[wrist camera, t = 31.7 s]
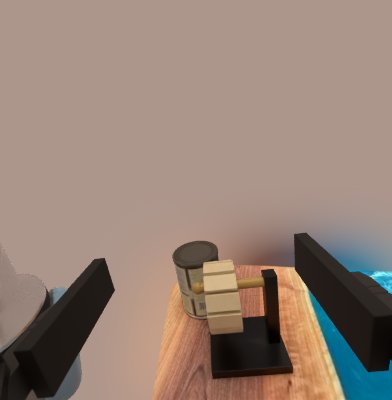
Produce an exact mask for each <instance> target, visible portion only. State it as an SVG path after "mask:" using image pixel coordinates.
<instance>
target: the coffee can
mask: <svg viewBox="0 0 392 400" xmlns="http://www.w3.org/2000/svg"><path fill="white" fill-rule="evenodd" d="M173 261H174V264H175V268H176V273H177V277H178V282H179V287H180V291H181V296H182V301H183V307H184V310H185V312H186V313H187V314H188V315H189V316H191V317H193V318H196V319H207V311H206V303H205V293H201V294H199V295H197V294H195V293H194V292H193V291H192V286H193V284H194V283H196V282H200V283H204V280H203V277H204V275H203V263H204V262H212V261H219V260H218V249H217V247H216V245H215V244H213V243H211V242H207V241H194V242H190V243H186V244H184V245H182V246H180V247H178V248H177V249H176V250H175V251H174V253H173Z"/></svg>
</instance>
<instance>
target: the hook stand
mask: <svg viewBox="0 0 392 400" xmlns="http://www.w3.org/2000/svg"><path fill="white" fill-rule="evenodd" d="M261 273H262V276H260V277H250V278H241V279H236V281H237V286H238V289H245V288H255V287H263V300H264V313H265V316H258V317H248V318H242V321H243V332H237V333H225V334H213V335H211V333H210V339H211V366H212V376H213V379H216V378H230V377H243V376H257V375H271V374H285V373H293V366H292V363H291V361H290V358H289V356H288V353H287V350H286V348H285V345H284V343H283V340H282V338H281V335H280V322H279V302H278V283H277V275H276V273H275V271H274V269H266V270H261ZM192 291H193V292H194V293H195V294H197V295H199V294H201V293H205V292H204V283H200V282H196V283H194V284H193V286H192Z"/></svg>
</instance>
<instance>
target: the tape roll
mask: <svg viewBox="0 0 392 400" xmlns="http://www.w3.org/2000/svg"><path fill="white" fill-rule="evenodd" d="M203 275H204V277H203V280H204V292H205V303H206V311H207V319H208V324H209V329H210V333H211V335H213V334H225V333H237V332H243V321H242V313H241V305H240V299H239V293H238V286H237V281H236V275H235V270H234V266H233V262H232V260H221V261H212V262H204V263H203Z"/></svg>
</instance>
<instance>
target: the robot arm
mask: <svg viewBox="0 0 392 400" xmlns="http://www.w3.org/2000/svg"><path fill="white" fill-rule="evenodd" d="M294 246H295V270H296V272H297V273H298V275H299V276H300V277H301V279H302V280H303V282H304V283H305V284H306V286H307V287H308V289H309V290H310V291H311V293H312V294H313V296H314V297H315V298H316V300H317V301H318V303H319V304H320V305H321V307H322V308H323V310H324V311H325V312H326V314H327V315H328V317H329V318H330V319H331V321H332V322H333V324H334V325H335V326H336V328H337V329H338V331H339V332H340V333H341V335H342V336H343V338H344V339H345V340H346V342H347V343H348V345H349V346H350V347H351V349H352V350H353V352H354V353H355V354H356V356H357V357H358V359H359V360H360V361H361V363H362V364H363V366H364V367H365V368H366V370H367V371H368V372H376V371H388V370H389V364H390V359H391V360H392V294H391V293H388V291H387V290H386V289H384V288H383V287H381V286H380V284H378V283H377V282H376V281H375V280H373V279H372V278H371V277H369V276H367V275H365V274H363V273H361V272H359V271H357V272H349V271H348V270H347V269H346V268H345V267H344V266H342V265H341V264H340V263H339V262H338V261H337V260H336V259H335V258H333V257H332V256H331V255H330V254H329V253H328V252H327V251H326V250H325V249H323V248H322V247H321V246H320V245H319V244H318V243H317V242H316V241H315V240H314V239H312V238H311V237H310V236H309V235H308V234H307V233H300V234H294ZM114 291H115V289H114V286H113V283H112V280H111V276H110V274H109V270H108V267H107V264H106V261H105V258H100V259H94V260H93V261H92V262H91V264H90V265H89V266H88V267H87V268H86V269H85V270H84V272H83V273H82V274H81V275H80V276H79V277H78V278H77V279H76V280H75V282H74V283H73V284H72V285H71V286H70V287H69V288H68V290H67V289H66V288H65V287H60V288H53V289H51V290H50V292H48V291H47V289H46V287H45V285H44V283H43V282H42V280H41V279H39V278H38V277H36V276H34V275H29V274H17V273H16V271H15V269H14V268H13V266H12V264H11V262H10V260H9V258H8V257H7V255H6V253H5V251H4V249H3V247H2V246H1V244H0V400H68V399H69V398H70V397H71V396H72V395H73V394H74V393H75V392H76V390H77V389H78V387H79V385H80V382H81V374H82V373H81V362H80V354H79V352H80V351H81V349H82V347H83V345H84V344H85V342H86V340H87V338H88V337H89V335H90V333H91V331H92V329H93V328H94V326H95V324H96V322H97V321H98V319H99V317H100V315H101V314H102V312H103V310H104V308H105V307H106V305H107V303H108V301H109V300H110V298H111V296H112V294H113V293H114Z"/></svg>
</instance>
